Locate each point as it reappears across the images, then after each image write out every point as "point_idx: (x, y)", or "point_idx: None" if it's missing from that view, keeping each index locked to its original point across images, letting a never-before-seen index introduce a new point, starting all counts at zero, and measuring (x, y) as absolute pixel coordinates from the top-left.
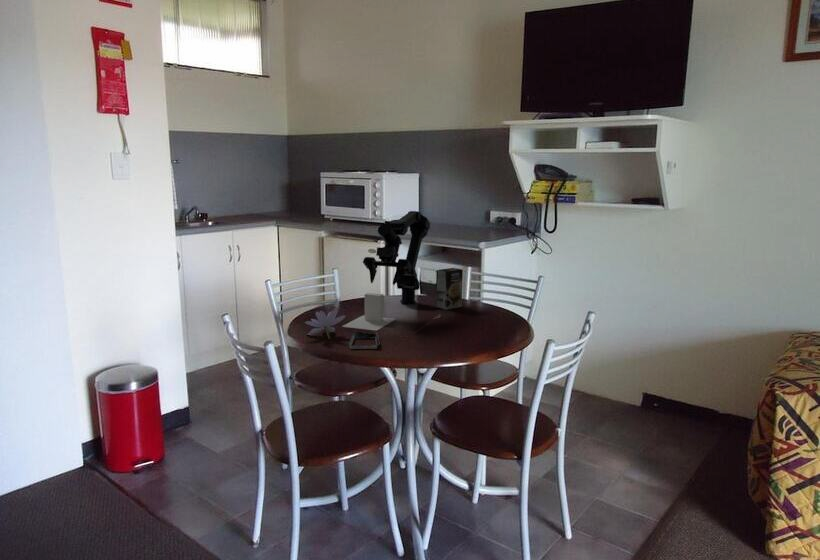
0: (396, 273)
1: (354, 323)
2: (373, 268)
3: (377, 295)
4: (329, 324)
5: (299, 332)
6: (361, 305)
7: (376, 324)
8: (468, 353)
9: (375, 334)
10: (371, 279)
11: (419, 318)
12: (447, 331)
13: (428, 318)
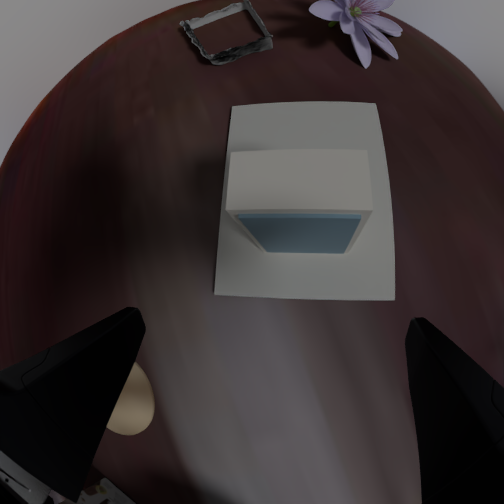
0: (38, 365)
1: (358, 149)
2: (487, 493)
3: (254, 151)
4: (342, 7)
5: (439, 52)
6: None
7: None
8: (44, 108)
9: (211, 57)
10: (428, 332)
11: None
12: (52, 216)
13: None
